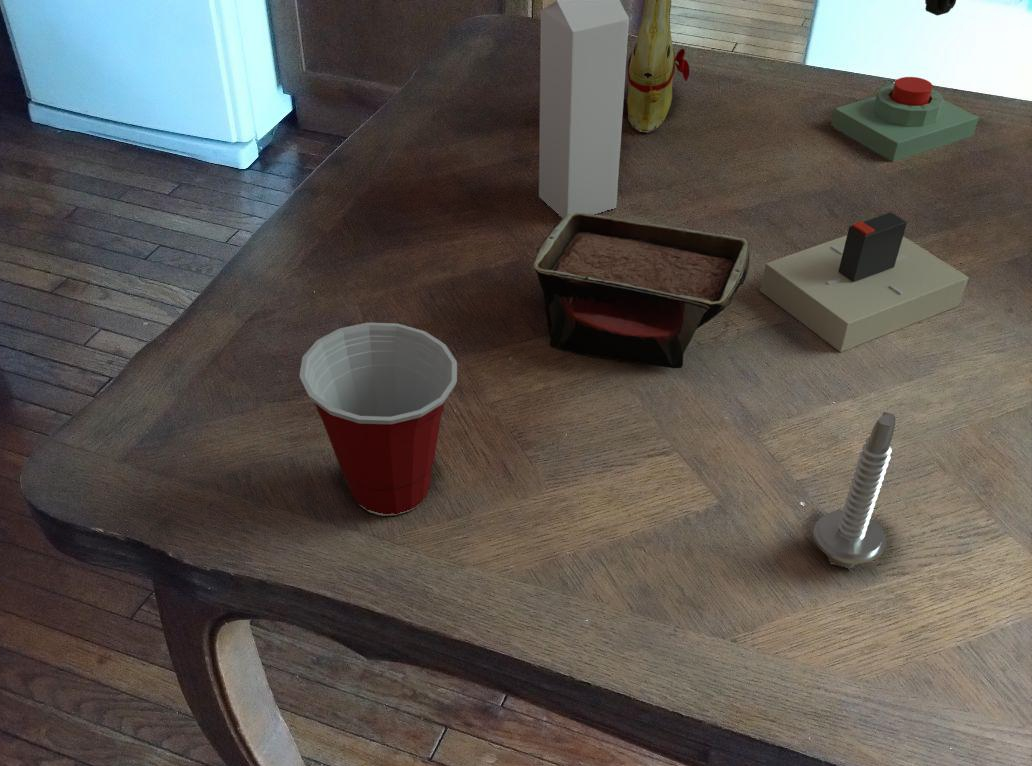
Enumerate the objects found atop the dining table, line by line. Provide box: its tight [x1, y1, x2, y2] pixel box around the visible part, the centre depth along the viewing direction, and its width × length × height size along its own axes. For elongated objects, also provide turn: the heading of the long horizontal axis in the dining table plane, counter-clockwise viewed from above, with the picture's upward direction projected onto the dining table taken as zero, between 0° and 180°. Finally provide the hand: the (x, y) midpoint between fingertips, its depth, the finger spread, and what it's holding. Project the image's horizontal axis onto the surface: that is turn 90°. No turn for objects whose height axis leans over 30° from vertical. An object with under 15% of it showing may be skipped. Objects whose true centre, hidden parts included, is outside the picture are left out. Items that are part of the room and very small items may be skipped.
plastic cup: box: [299, 322, 458, 514], centre depth 77 cm, size 11×11×12 cm
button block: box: [830, 83, 980, 163], centre depth 119 cm, size 12×10×4 cm
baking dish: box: [532, 213, 751, 369], centre depth 92 cm, size 14×18×10 cm
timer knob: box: [838, 212, 908, 282], centre depth 93 cm, size 5×2×5 cm, turn 118°
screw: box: [812, 411, 896, 570], centre depth 71 cm, size 13×5×5 cm
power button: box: [891, 76, 933, 106], centre depth 117 cm, size 4×4×2 cm
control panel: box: [760, 234, 970, 353], centre depth 96 cm, size 14×11×3 cm
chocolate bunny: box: [626, 0, 690, 131], centre depth 118 cm, size 7×11×15 cm, turn 168°
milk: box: [538, 0, 630, 219], centre depth 102 cm, size 6×6×22 cm
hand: (937, 11), depth 111 cm, fingers closed
